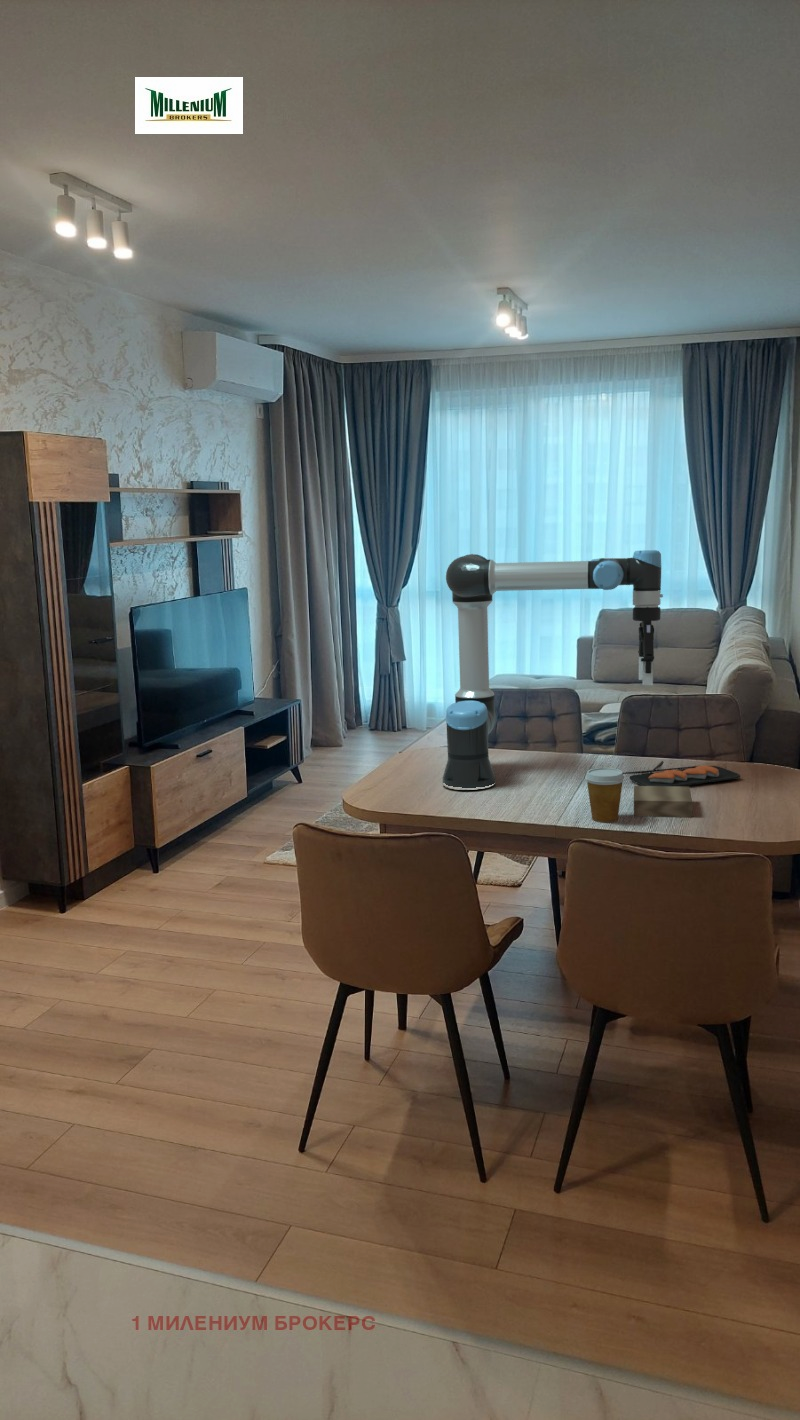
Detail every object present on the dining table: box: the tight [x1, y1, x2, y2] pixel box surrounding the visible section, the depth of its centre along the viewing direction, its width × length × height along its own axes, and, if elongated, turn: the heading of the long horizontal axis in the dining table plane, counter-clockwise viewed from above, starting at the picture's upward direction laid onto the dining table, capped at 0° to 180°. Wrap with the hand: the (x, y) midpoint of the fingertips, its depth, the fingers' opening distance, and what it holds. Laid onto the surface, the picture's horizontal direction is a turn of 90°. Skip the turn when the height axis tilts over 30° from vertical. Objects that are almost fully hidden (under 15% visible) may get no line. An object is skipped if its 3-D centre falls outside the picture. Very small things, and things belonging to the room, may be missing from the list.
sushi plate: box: [622, 760, 741, 787], centre depth 285 cm, size 29×30×4 cm
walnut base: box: [633, 785, 693, 818], centre depth 252 cm, size 14×14×4 cm
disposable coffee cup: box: [584, 767, 625, 823], centre depth 245 cm, size 10×10×12 cm
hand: (645, 682), depth 278 cm, fingers open, 13 cm apart
